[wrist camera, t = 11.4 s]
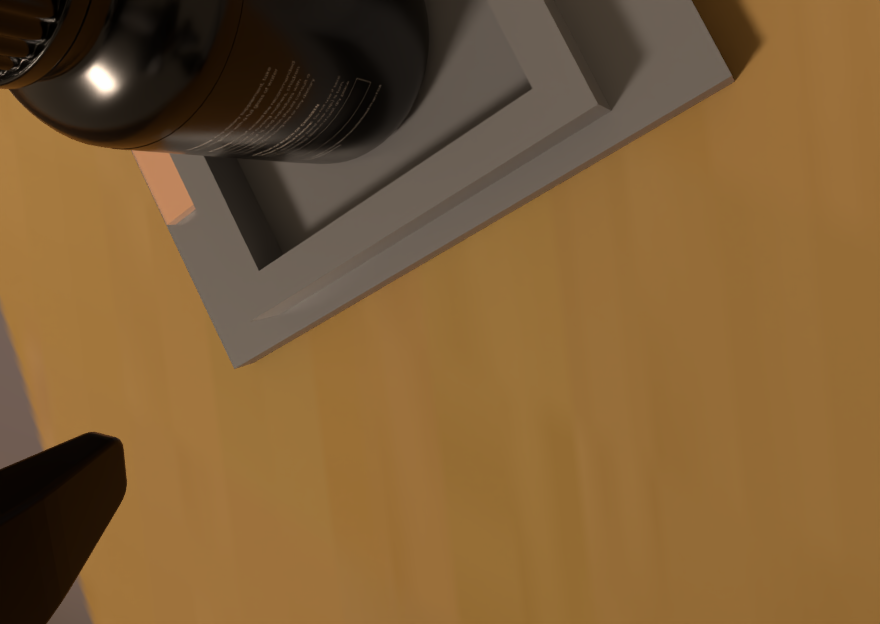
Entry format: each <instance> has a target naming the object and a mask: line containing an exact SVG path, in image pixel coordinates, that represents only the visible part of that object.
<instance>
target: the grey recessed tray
mask: <svg viewBox="0 0 880 624" xmlns="http://www.w3.org/2000/svg"><path fill="white" fill-rule="evenodd" d="M424 1H425V5H426V10H427V15H428V24H429V52H428V60H427V66H426V70H425V75H424V78H423V82H422V85H421V88H420V90H419V93H418V95H417V98H416V100H415V102H414V104H413V106H412V108H411V109H410V111H409V113H408V114H407V116H406V118H405V119H404V120H403V122H402V123H401V124H400V126H399V127H398V128H397V129H396V130H395V131H394V133H393V134H392V135H391V136H390V137H389V138H387V139H386V140H385V141H384V142H383V143H382V144H380V145H379V146H378V147H376V148H375V149H373V150H372V151H370V152H368V153H366V154H364V155H362V156H360V157H358V158H355V159H352V160H349V161H346V162H341V163H332V164H310V163H291V162H278V161H265V160H251V159H238V158H225V157H212V156H199V155H186V154H173V153H160V152H147V151H134V150H131V151H132V153H133V155H134V157H135V160H136V162H137V164H138V166H139V168H140V170H141V172H142V174H143V177H144V179H145V181H146V183H147V185H148V187H149V189H150V191H151V193H152V196H153V198H154V200H155V202H156V204H157V206H158V208H159V210H160V212H161V215H162V217H163V219H164V221H165V223H166V225H167V227H168V229H169V232H170V234H171V236H172V238H173V240H174V242H175V244H176V246H177V248H178V251H179V253H180V255H181V257H182V259H183V261H184V263H185V265H186V267H187V270H188V272H189V274H190V276H191V278H192V280H193V282H194V284H195V286H196V289H197V291H198V293H199V295H200V297H201V299H202V301H203V303H204V306H205V308H206V310H207V312H208V314H209V316H210V318H211V320H212V322H213V325H214V327H215V329H216V331H217V333H218V335H219V337H220V339H221V341H222V344H223V346H224V348H225V350H226V352H227V354H228V356H229V358H230V361H231V363H232V365H233V367H234V369H236V368H239V367H242V366H245V365H248V364H251V363H254V362H256V361H257V360H259V359H261V358H262V357H264V356H266V355H268V354H269V353H271V352H273V351H274V350H276V349H278V348H280V347H281V346H283V345H285V344H286V343H288V342H290V341H292V340H293V339H295V338H297V337H298V336H300V335H302V334H303V333H305V332H307V331H309V330H310V329H312V328H314V327H315V326H317V325H319V324H321V323H322V322H324V321H326V320H327V319H329V318H331V317H333V316H334V315H336V314H338V313H339V312H341V311H343V310H345V309H346V308H348V307H350V306H351V305H353V304H355V303H357V302H358V301H360V300H362V299H363V298H365V297H367V296H369V295H370V294H372V293H374V292H375V291H377V290H379V289H380V288H382V287H384V286H386V285H387V284H389V283H391V282H392V281H394V280H396V279H398V278H399V277H401V276H403V275H404V274H406V273H408V272H410V271H411V270H413V269H415V268H416V267H418V266H420V265H422V264H423V263H425V262H427V261H428V260H430V259H432V258H434V257H435V256H437V255H439V254H440V253H442V252H444V251H446V250H447V249H449V248H451V247H452V246H454V245H456V244H457V243H459V242H461V241H463V240H464V239H466V238H468V237H469V236H471V235H473V234H475V233H476V232H478V231H480V230H481V229H483V228H485V227H487V226H488V225H490V224H492V223H493V222H495V221H497V220H499V219H500V218H502V217H504V216H505V215H507V214H509V213H511V212H512V211H514V210H516V209H517V208H519V207H521V206H522V205H524V204H526V203H528V202H529V201H531V200H533V199H534V198H536V197H538V196H540V195H541V194H543V193H545V192H546V191H548V190H550V189H552V188H553V187H555V186H557V185H558V184H560V183H562V182H564V181H565V180H567V179H569V178H570V177H572V176H574V175H576V174H577V173H579V172H581V171H582V170H584V169H586V168H588V167H589V166H591V165H593V164H594V163H596V162H598V161H599V160H601V159H603V158H605V157H606V156H608V155H610V154H611V153H613V152H615V151H617V150H618V149H620V148H622V147H623V146H625V145H627V144H629V143H630V142H632V141H634V140H635V139H637V138H639V137H641V136H642V135H644V134H646V133H647V132H649V131H651V130H653V129H654V128H656V127H658V126H659V125H661V124H663V123H665V122H666V121H668V120H670V119H671V118H673V117H675V116H676V115H678V114H680V113H682V112H683V111H685V110H687V109H688V108H690V107H692V106H694V105H695V104H697V103H699V102H700V101H702V100H704V99H706V98H707V97H709V96H711V95H712V94H714V93H716V92H718V91H719V90H721V89H723V88H724V87H726V86H728V85H730V84H731V83H733V82H735V81H734V79H733V76H732V74H731V73H730V71H729V69H728V67H727V65H726V63H725V61H724V60H723V58H722V56H721V54H720V52H719V50H718V48H717V47H716V45H715V43H714V41H713V39H712V37H711V35H710V34H709V32H708V30H707V28H706V26H705V24H704V22H703V21H702V19H701V17H700V15H699V13H698V11H697V9H696V8H695V6H694V4H693V2H692V0H424Z"/></svg>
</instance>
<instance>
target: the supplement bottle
mask: <svg viewBox="0 0 880 624" xmlns="http://www.w3.org/2000/svg"><path fill="white" fill-rule="evenodd" d="M428 52H429V24H428V15H427V10H426V5H425V1H424V0H0V89H9V90H10V91H11V93H12V94H13V95H14V96H15V98H16V99H17V100H18V101H19V102H20V103H21V104H22V105H23V106H24V107H25V108H26V109H27V110H28V111H29V112H31V113H32V114H33V115H34V116H36V117H37V118H38V119H39V120H40V121H42V122H43V123H45V124H46V125H48V126H49V127H51V128H52V129H54V130H55V131H57V132H59V133H61V134H63V135H65V136H67V137H69V138H71V139H73V140H76V141H79V142H82V143H85V144H88V145H94V146H99V147H105V148H112V149H121V150H134V151H147V152H160V153H173V154H186V155H199V156H212V157H225V158H238V159H251V160H265V161H278V162H291V163H310V164H332V163H341V162H346V161H349V160H352V159H355V158H358V157H360V156H362V155H364V154H366V153H368V152H370V151H372V150H373V149H375V148H376V147H378V146H379V145H380V144H382V143H383V142H384V141H385V140H386V139H387V138H389V137H390V136H391V135H392V134H393V133H394V131H395V130H396V129H397V128H398V127H399V126H400V124H401V123H402V122H403V120H404V119H405V118H406V116H407V114H408V113H409V111H410V109H411V108H412V106H413V104H414V102H415V100H416V98H417V95H418V93H419V90H420V88H421V85H422V82H423V78H424V75H425V70H426V66H427V60H428Z"/></svg>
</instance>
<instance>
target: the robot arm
mask: <svg viewBox="0 0 880 624" xmlns="http://www.w3.org/2000/svg"><path fill="white" fill-rule="evenodd" d="M126 487H127V479H126V469H125V459H124V449H123V444H122V442H121V441H120V439H118V438H116V437H112V436H109V435H105V434H101V433H97V432H88V433H85V434H82V435H80V436H78V437H75V438H73V439H71V440H68V441H66V442H64V443H61V444H59V445H56V446H54V447H52V448H49V449H47V450H45V451H42V452H40V453H38V454H35V455H33V456H30V457H28V458H26V459H23V460H21V461H19V462H16V463H14V464H12V465H9V466H7V467H5V468H2V469H0V624H46V623H47V622H48V621H49V619H50V618H51V617H52V615H53V614H54V612H55V611H56V609H57V608H58V607H59V605H60V604H61V602H62V601H63V599H64V598H65V596H66V594H67V593H68V591H69V590H70V588H71V587H72V585H73V583H74V582H75V580H76V578H77V577H78V575H79V573H80V571H81V570H82V568H83V566H84V565H85V563H86V561H87V560H88V558H89V556H90V555H91V553H92V551H93V549H94V548H95V546H96V544H97V543H98V541H99V539H100V538H101V536H102V534H103V532H104V531H105V529H106V527H107V526H108V524H109V522H110V521H111V519H112V517H113V516H114V514H115V512H116V510H117V509H118V507H119V505H120V504H121V502H122V500H123V498H124V495H125V492H126Z"/></svg>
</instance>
